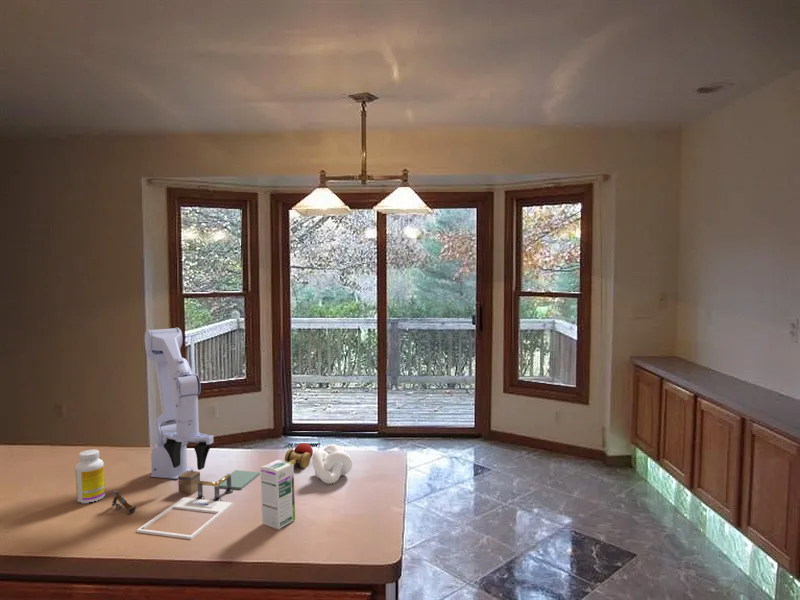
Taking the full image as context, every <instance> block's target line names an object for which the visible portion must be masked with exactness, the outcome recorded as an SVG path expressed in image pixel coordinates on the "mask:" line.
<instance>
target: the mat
mask: <svg viewBox="0 0 800 600" xmlns="http://www.w3.org/2000/svg"><path fill="white" fill-rule="evenodd" d="M229 474H230V475H231V489H233V490H240V489H241V490H243V489H244V488H245V487H246V486H247V485H249V484H250V483H252V481H255V479H256V478H258V477H259V475H260V476H261V472H260V471H258V472H257V471H249V470H248V471H247V470H238V469H237V470H236V469H235V470H234V471H232V472H231V473H229ZM220 488H223V489H227V480H225V481H224V482H223V483H221V484H220V485H219V489H220ZM242 488H243V489H242Z"/></svg>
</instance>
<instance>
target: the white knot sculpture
mask: <svg viewBox="0 0 800 600" xmlns="http://www.w3.org/2000/svg"><path fill="white" fill-rule="evenodd" d="M311 459H312V465H313V470H314V475H315V476H316V477H317V478H318V479H320V480H321V481H322V482H323V483H325V484H327V485H331V484H332V483H333V484H335V483H336V482H338V480H340V479H339V478H340V477H343V476H345V475H346V476H347V474H349V473H350V472H351V469H352V468H353V460H352V457H351V456H350V455H349V454H348V453H346V452H345V451H341V448H340V447H339V446H338V445H337V444H333V443H331V444H329V445H328V446H326V447H324V449H320V448H319V449H317V450H315V451H313V455H312V457H311ZM342 475H343V476H342Z"/></svg>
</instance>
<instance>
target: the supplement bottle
mask: <svg viewBox="0 0 800 600" xmlns="http://www.w3.org/2000/svg"><path fill="white" fill-rule="evenodd" d="M78 459H79V462H77V464H76V465H75V467H74V468H75V484H76V485H75V489H76V501H77V502H78V503H79V502H81V503H80V504H90V503H89V502H93V503H95V502H94V501H96V502H98V500H99V501H100V499H101V500H102V499H103V498H105V496H106V483H105V482H106V480H105V463H104V461H103V459H101V458H100V450H98V449H87V450H82V451H81V452H79V454H78Z"/></svg>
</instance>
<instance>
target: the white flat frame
mask: <svg viewBox="0 0 800 600" xmlns="http://www.w3.org/2000/svg"><path fill="white" fill-rule="evenodd" d="M233 505H234V503H233V502H230V501H229V502H228V501H222V500H221V501H213V500H212V499H205V498H204V499H200V500H198V499H196V498H194V497H193V498H192V497H182V498H180V499H179V500H177V501H176V502H175V503H174V504H172V505H171V506H169V507H168V508H166V509H165V510H163V511H162V512H160V513H159V514H157V515H156V516H154V517H153V518H152V519H150V520H149V521H147V522H146V523H144V524H143V525H141V526H140V527H139V528H137V529H136V533H141V534H146V535H147V534H148V535H154V536H155V535H156V536H163V537H171V538H179V539H188V540H193V538H195V537H196V536H197V535H198V534H200V533H201V532H202V531H203V530H204V529H205V528H207V527H208V526H209V525H211V524H212V523H213V522H214V521H215V520H216V519H217V518H218V517H220V516H221V515H222V514H223V513H225V512H226V511H227V510H228V509H229V508H231V507H232V506H233ZM173 509H176V510H177V509H178V510H184V511H185V510H186V511H192V512H193V511H194V512H203V513H211V514H215V515H213V516H212V517H211V518H210V519H209V520H208V521H206V522H205V523H204V524H202V525H201V526H200V527H198V529H196V530H195V531H194V532H193V533H192V534H183V533H176V532H167V531H159V530H154V529H146V528H148V527H149V526H150V525H152V524H153V523H155V522H156V521H158V519H160V518H162V517H163V516H164V515H165V514H167V513H169V512H170V511H171V510H173Z"/></svg>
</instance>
